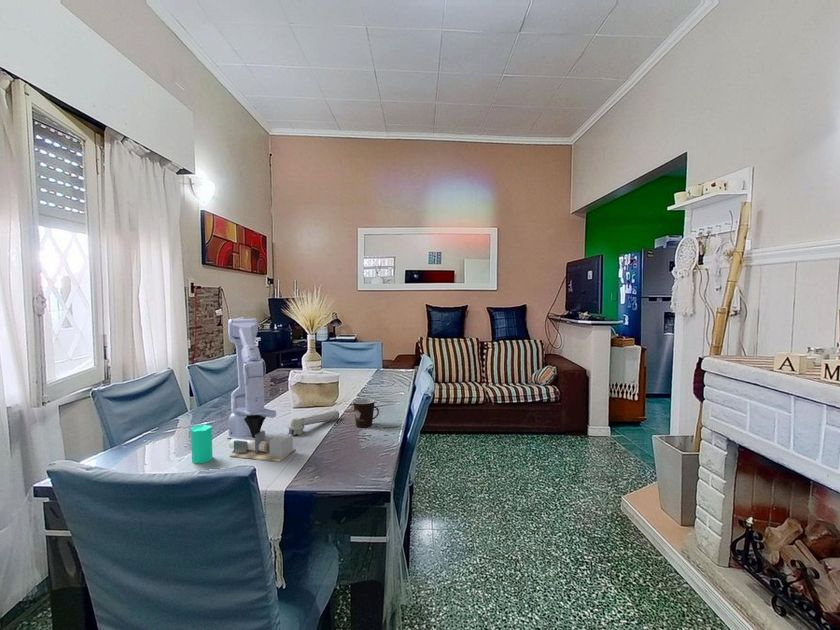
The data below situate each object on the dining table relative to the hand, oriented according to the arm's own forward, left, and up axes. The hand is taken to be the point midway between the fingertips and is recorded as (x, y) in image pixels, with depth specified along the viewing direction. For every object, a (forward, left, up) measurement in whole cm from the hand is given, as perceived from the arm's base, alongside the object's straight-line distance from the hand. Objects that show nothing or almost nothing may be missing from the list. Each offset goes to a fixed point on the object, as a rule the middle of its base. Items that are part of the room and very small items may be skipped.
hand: (255, 437), depth 136 cm
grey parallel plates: (-4, 0, -5) cm, 7 cm away
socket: (+9, 0, -5) cm, 11 cm away
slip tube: (-2, 0, -5) cm, 5 cm away
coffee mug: (+26, +34, -6) cm, 43 cm away
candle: (-13, -9, -6) cm, 17 cm away
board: (+3, 0, -5) cm, 6 cm away
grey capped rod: (+6, +29, -6) cm, 31 cm away
